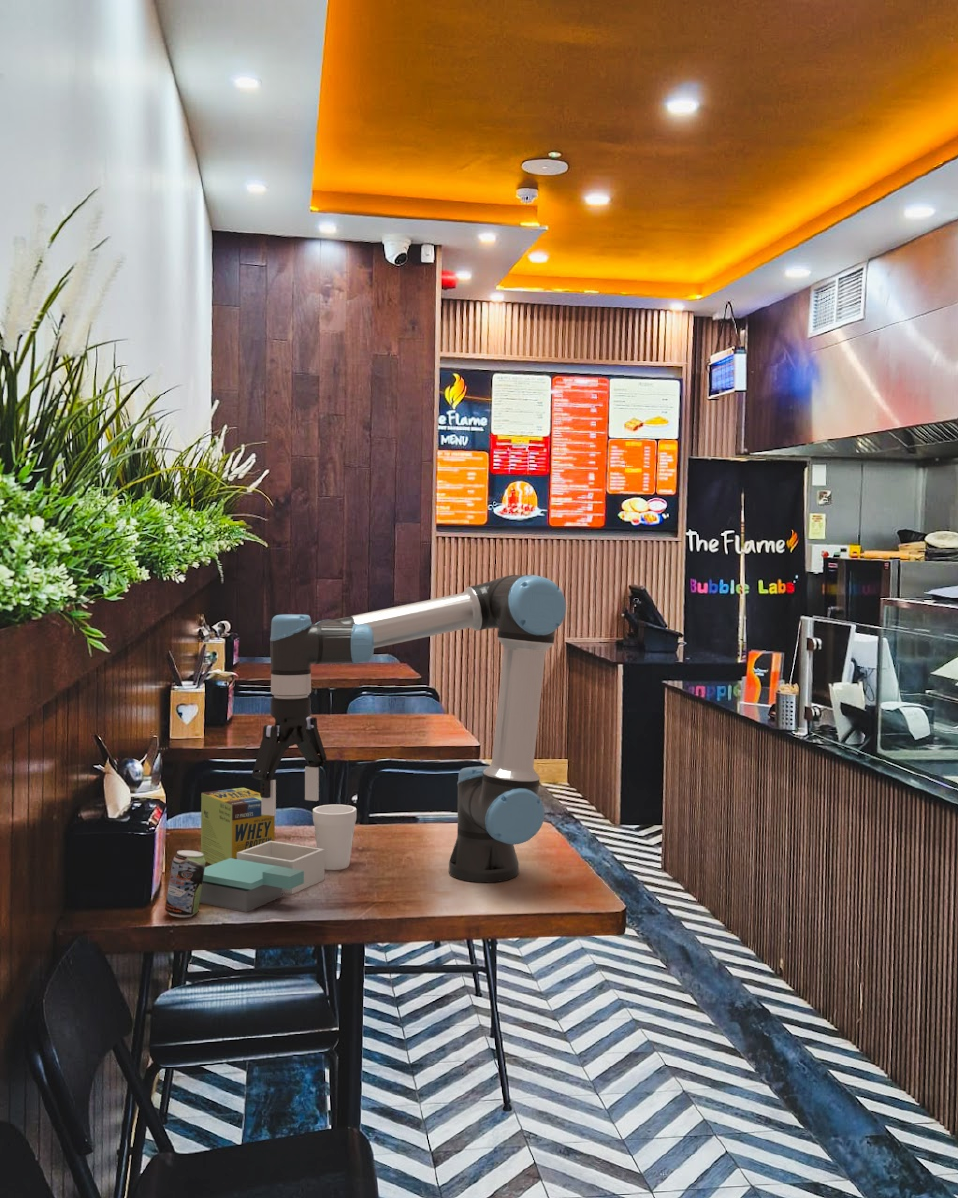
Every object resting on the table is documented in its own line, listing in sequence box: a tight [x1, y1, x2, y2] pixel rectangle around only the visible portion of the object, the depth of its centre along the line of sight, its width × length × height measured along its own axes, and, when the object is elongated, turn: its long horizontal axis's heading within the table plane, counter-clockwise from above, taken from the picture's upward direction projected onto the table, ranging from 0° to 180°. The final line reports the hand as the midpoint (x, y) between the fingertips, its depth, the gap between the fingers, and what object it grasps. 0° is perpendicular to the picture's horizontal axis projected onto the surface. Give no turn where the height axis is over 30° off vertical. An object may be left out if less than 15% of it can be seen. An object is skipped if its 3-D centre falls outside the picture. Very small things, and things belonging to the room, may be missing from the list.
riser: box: [199, 881, 283, 913], centre depth 207 cm, size 12×11×4 cm
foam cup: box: [312, 804, 358, 871], centre depth 230 cm, size 10×9×13 cm
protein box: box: [200, 787, 276, 865], centre depth 232 cm, size 10×15×16 cm
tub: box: [237, 840, 325, 895], centre depth 218 cm, size 14×11×7 cm
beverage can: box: [164, 849, 207, 918], centre depth 198 cm, size 6×7×12 cm
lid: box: [203, 858, 304, 890], centre depth 205 cm, size 21×12×3 cm, turn 64°
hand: (290, 807), depth 201 cm, fingers open, 13 cm apart
